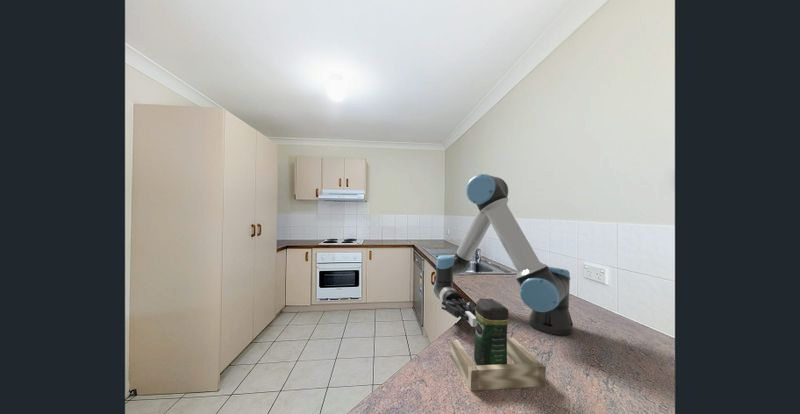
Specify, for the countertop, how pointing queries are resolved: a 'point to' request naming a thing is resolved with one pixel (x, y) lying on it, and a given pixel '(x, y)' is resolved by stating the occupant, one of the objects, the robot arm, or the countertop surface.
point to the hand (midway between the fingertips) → (474, 322)
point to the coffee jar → (491, 333)
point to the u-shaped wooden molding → (500, 369)
